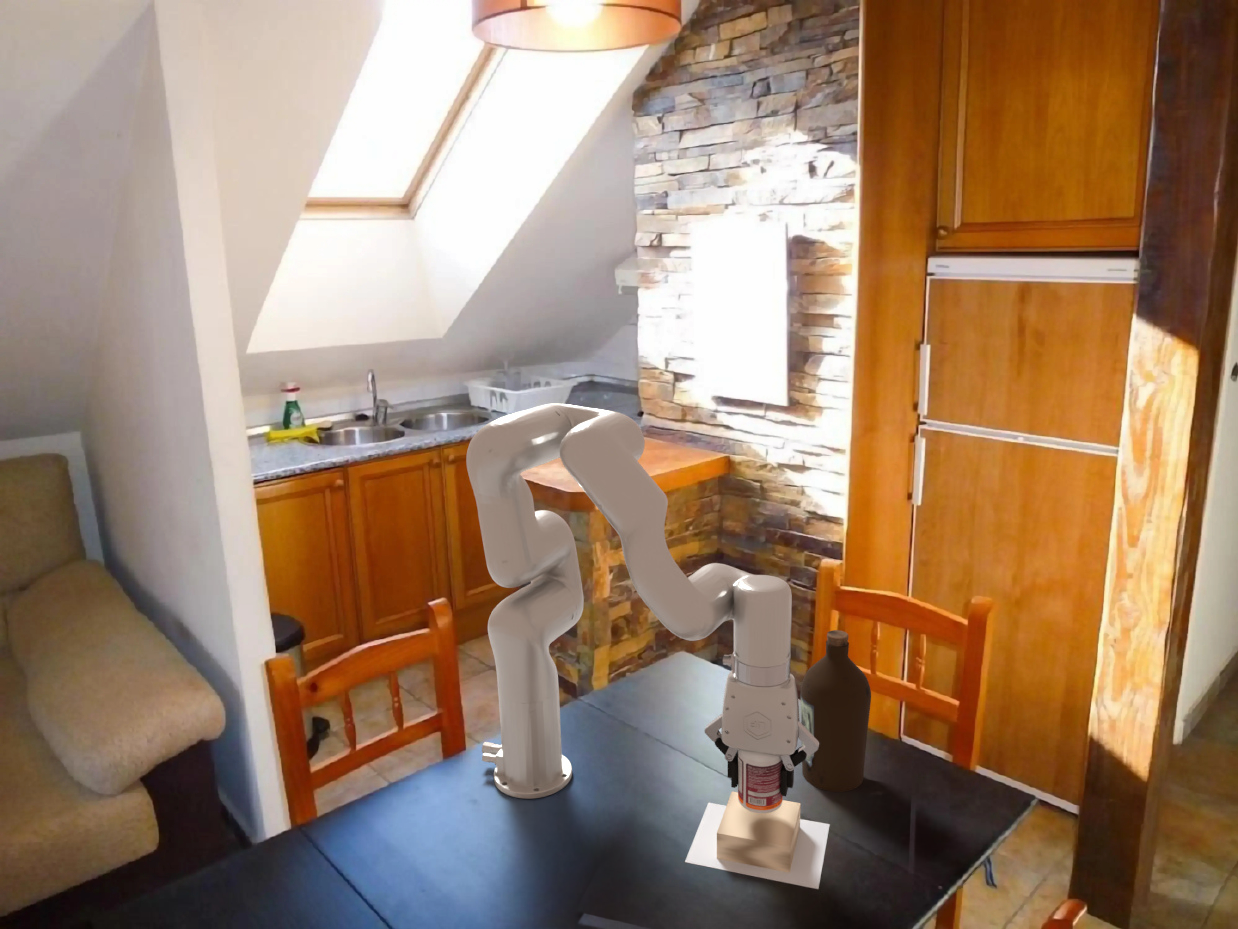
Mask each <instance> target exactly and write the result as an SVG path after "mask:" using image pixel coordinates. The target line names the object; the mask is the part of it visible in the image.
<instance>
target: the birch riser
mask: <svg viewBox="0 0 1238 929" xmlns="http://www.w3.org/2000/svg"><path fill="white" fill-rule="evenodd" d="M801 804H802V803H800V802H795V801H789V800H784V799H783V800H782V805H781V806H780V807H779V808H778V809H777V810H775V811H773V812H770V813H754V812H751V811H748V810H747V809H745V808H744V807H743V806H742V805H741V804H740V802H739V800H738V791H733V790H732V791H731V793H730V795H729V798H728V801H727V804H726V805H725V806H726V809H725V812H724V814H723V817H722V820H721V823H720V825H719V828H718V831H717V858H718V859H723V860H728V861H733V862H738V863H743V864H748V865H753V866H758V867H763V868H768V869H773V870H778V871H783V872H788V873H790V870H791V865H792V861H793V856H794V852H795V848H796V843H797V839H798V834H799V830H800V819H801V806H802V805H801Z"/></svg>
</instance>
